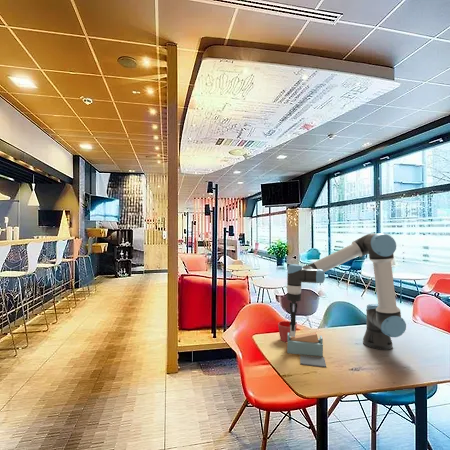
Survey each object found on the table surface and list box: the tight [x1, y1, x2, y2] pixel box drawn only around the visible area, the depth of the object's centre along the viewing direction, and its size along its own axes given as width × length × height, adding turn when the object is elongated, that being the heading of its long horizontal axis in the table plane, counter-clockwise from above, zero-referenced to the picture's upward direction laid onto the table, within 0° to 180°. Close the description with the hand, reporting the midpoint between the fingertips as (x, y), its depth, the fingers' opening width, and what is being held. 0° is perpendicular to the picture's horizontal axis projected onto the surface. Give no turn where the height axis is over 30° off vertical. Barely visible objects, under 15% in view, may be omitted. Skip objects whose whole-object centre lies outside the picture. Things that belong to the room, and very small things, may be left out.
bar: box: [291, 331, 319, 343], centre depth 159 cm, size 14×4×4 cm, turn 77°
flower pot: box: [277, 320, 298, 343], centre depth 176 cm, size 11×11×10 cm
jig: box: [286, 333, 324, 357], centre depth 159 cm, size 18×9×9 cm, turn 77°
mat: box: [299, 354, 327, 368], centre depth 147 cm, size 12×10×1 cm
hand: (292, 336), depth 161 cm, fingers closed
